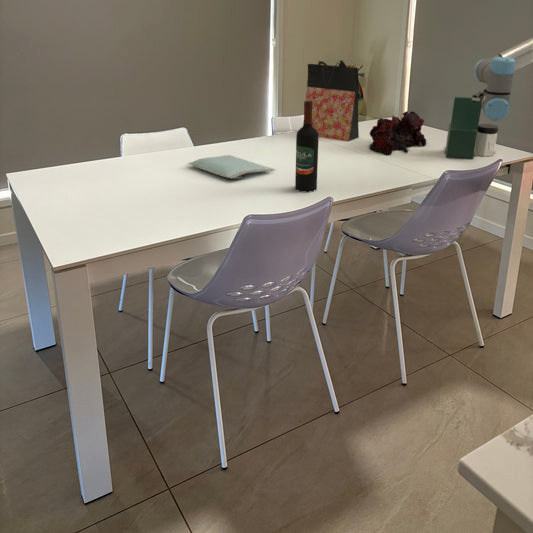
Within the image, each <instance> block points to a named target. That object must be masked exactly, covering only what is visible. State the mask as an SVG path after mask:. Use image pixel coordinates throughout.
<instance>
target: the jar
mask: <svg viewBox="0 0 533 533" xmlns="http://www.w3.org/2000/svg"><path fill="white" fill-rule="evenodd" d="M498 132H499V125H496V124H490V123H480V124H478V129H477V135H476V142H475V148H474V155H473V156H479V157H482V158H483V157H494V156H495V150H496V143H497V138H498Z"/></svg>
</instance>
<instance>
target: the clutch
mask: <svg viewBox="0 0 533 533" xmlns="http://www.w3.org/2000/svg"><path fill="white" fill-rule="evenodd" d="M188 164H189V165H191V166H194V167H196V168H198V169H200V170H203V171H205V172H209V173H212V174H214V175H217V176H220V177H224V178H227V179H244V176H243V175H246V174H252V173H259V172H268V171H269V172H270V171H273V169H272V168H268V167H265V166H262V165H260V164H258V163H255V162H252V161H248V160H246V159H241V158H239V157H235V156H231V155H220V156H211V157H203V158H199V159H196V160H194V161H192V162H188Z"/></svg>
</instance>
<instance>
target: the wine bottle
mask: <svg viewBox="0 0 533 533" xmlns="http://www.w3.org/2000/svg"><path fill="white" fill-rule="evenodd" d="M312 107H313V101H306V100H304V101H303V122H304V125H303V124H302V127H299V129H298V130H297V131H296V136H295V178H294V180H295V182H294V185H295V186H294V190H296V191H297V190H299V191H298V192H301V191H306V192H305V193H310V192H309V191H312V192H315V191H317V189H318V166H319V163H318V162H319V139H320V137H319V134H318V132H317V130H316V129H315V128H314V127H313V126H312ZM314 190H315V191H314Z"/></svg>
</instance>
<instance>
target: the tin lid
mask: <svg viewBox="0 0 533 533" xmlns="http://www.w3.org/2000/svg"><path fill="white" fill-rule="evenodd" d="M472 97H473V96H470V97H469V96H454V98H453V106H452V113H451V120H450V123H451V126H450V129H467V130H477V129H478V125H479V123H480V118H481V117H480V116H481V112H482V107H481V104H480V103H479V102H474V103H473V102H472Z"/></svg>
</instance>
